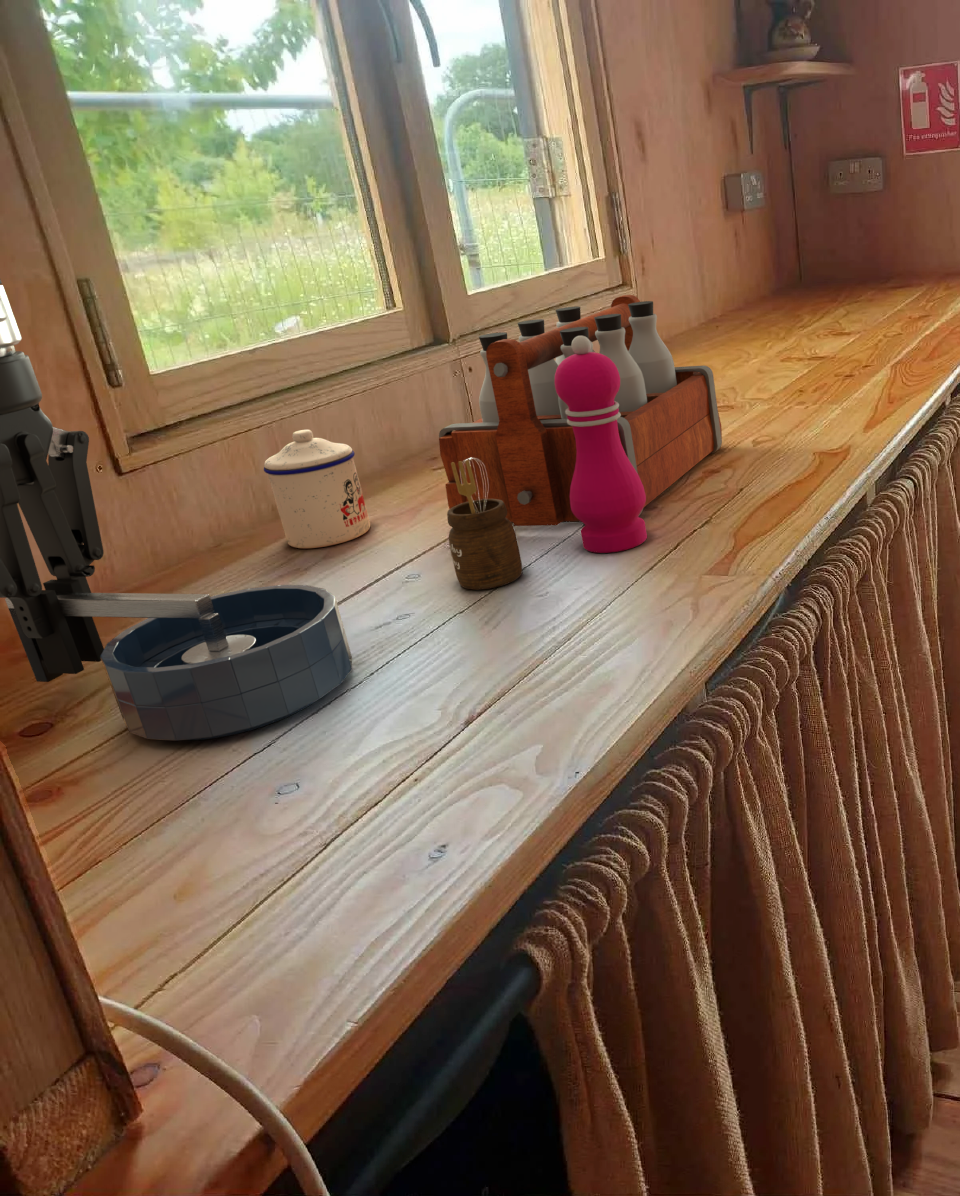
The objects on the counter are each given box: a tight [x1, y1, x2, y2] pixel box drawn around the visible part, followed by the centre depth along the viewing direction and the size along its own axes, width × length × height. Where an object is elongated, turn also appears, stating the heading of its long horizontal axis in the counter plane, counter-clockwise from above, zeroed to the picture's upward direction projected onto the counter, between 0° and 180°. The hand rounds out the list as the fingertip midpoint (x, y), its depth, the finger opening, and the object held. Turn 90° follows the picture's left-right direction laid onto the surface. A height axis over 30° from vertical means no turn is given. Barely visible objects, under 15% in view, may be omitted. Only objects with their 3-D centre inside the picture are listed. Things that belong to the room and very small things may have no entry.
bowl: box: [100, 584, 353, 741], centre depth 83 cm, size 16×16×6 cm
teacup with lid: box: [263, 429, 371, 549], centre depth 121 cm, size 12×9×12 cm
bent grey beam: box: [4, 592, 258, 683], centre depth 83 cm, size 20×5×7 cm, turn 74°
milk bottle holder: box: [438, 294, 723, 527], centre depth 127 cm, size 21×35×19 cm, turn 165°
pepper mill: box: [555, 336, 648, 554], centre depth 106 cm, size 7×7×20 cm
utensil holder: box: [447, 458, 523, 591], centre depth 101 cm, size 6×6×12 cm
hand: (78, 664), depth 86 cm, fingers closed on bent grey beam, 1 cm apart
